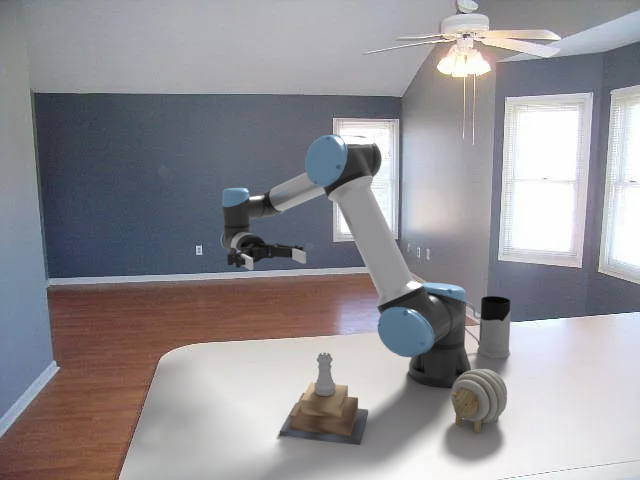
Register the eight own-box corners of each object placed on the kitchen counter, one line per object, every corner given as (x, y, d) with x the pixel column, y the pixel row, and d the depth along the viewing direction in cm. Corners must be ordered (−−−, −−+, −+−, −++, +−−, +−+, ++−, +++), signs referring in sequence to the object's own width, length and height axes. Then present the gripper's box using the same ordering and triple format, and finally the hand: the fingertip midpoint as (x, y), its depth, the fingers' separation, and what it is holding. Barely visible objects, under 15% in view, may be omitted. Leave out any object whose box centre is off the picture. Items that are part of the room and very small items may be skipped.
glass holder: (510, 359, 137) (513, 305, 134) (455, 354, 141) (457, 301, 139) (509, 348, 145) (512, 296, 142) (458, 342, 149) (459, 293, 147)
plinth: (368, 413, 109) (368, 382, 108) (359, 444, 98) (359, 410, 97) (295, 406, 113) (295, 376, 112) (279, 435, 101) (278, 402, 100)
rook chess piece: (334, 398, 102) (333, 360, 100) (312, 396, 103) (311, 358, 101) (337, 388, 106) (337, 351, 105) (316, 386, 107) (315, 350, 106)
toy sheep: (435, 429, 103) (436, 377, 101) (473, 398, 115) (474, 352, 113) (486, 448, 96) (488, 393, 94) (520, 414, 108) (522, 364, 107)
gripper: (290, 256, 146) (325, 270, 128) (204, 266, 135) (228, 283, 116) (290, 230, 145) (325, 240, 126) (202, 238, 134) (227, 250, 115)
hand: (278, 261), depth 121 cm, fingers open, 13 cm apart
